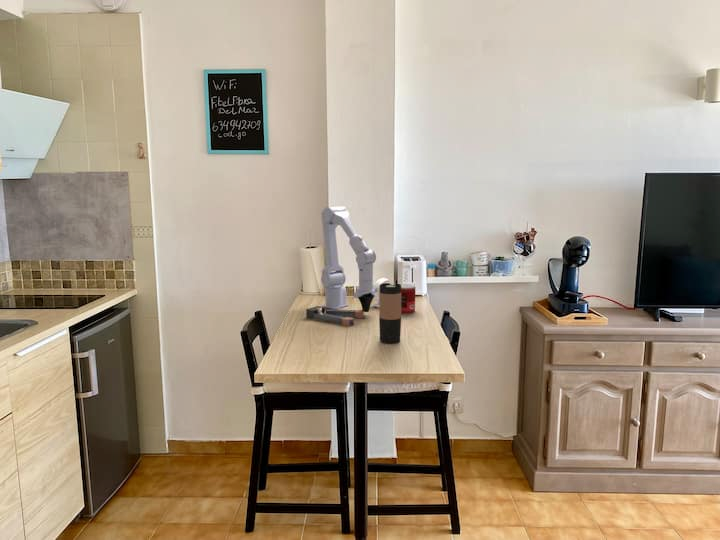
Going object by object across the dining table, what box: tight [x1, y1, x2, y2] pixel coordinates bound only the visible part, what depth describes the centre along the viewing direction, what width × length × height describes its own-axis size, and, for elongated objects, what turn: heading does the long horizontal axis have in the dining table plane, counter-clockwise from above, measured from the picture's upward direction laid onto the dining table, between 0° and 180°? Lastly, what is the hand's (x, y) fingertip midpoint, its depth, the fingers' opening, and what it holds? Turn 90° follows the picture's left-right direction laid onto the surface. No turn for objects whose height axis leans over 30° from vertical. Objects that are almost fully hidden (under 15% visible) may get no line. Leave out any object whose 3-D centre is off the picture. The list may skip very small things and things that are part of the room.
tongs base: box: [305, 305, 355, 327], centre depth 223 cm, size 22×7×4 cm, turn 54°
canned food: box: [400, 283, 416, 314], centre depth 237 cm, size 8×8×11 cm
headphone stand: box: [371, 277, 390, 308], centre depth 246 cm, size 5×6×12 cm
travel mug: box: [378, 282, 402, 345], centre depth 194 cm, size 8×8×20 cm
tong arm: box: [325, 308, 365, 319], centre depth 228 cm, size 16×3×3 cm, turn 84°
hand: (365, 311), depth 232 cm, fingers closed
